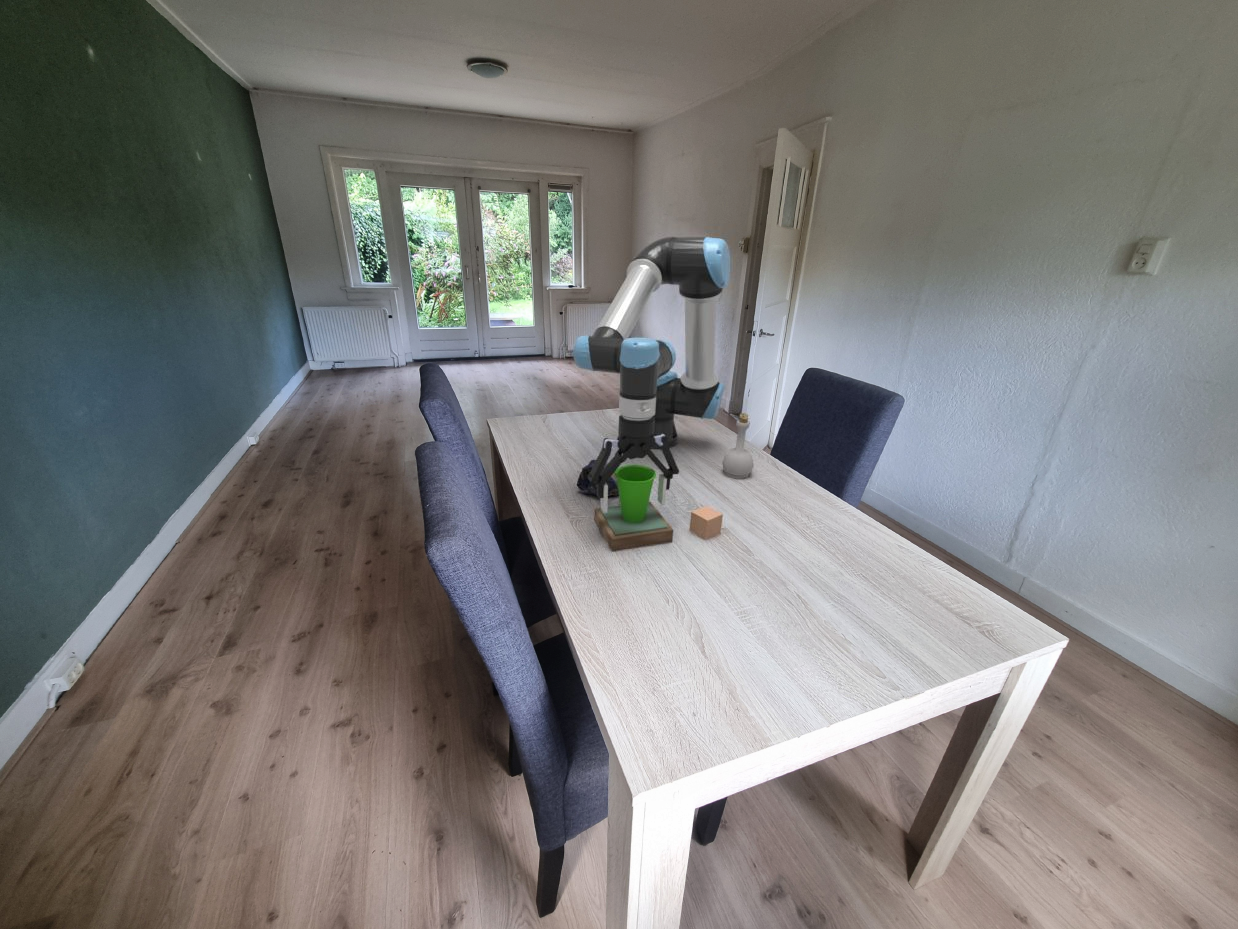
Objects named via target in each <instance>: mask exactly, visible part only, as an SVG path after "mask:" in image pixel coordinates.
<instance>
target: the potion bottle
mask: <svg viewBox="0 0 1238 929" xmlns="http://www.w3.org/2000/svg"><path fill="white" fill-rule="evenodd" d="M748 416H749V415H748V413H744V412H743V413H740V414H739V418H738V420H736V424H735V425H736V428H737V435H736V442H735V444H736V445H735V447H733V448H732V447H731V448H729V449H728V451H727V452H726V453H725V454H724V456H723V459H722V461H721V464H722V465H721V466H722V469H723V470H724V474H725V475H726V476H727V477H728V478H733V479H746V478H747V477H749V474H750V473H752V471H753V468H754V466H755V465H754V459H753V456H752V454H751V452H750V450H748V449H745V447H744V446H745V441H746V440H745V439H746V432H747V430H748V429H749V428H750V425H751V422H750V421H749V417H748Z"/></svg>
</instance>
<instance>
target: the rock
mask: <svg viewBox="0 0 1238 929" xmlns="http://www.w3.org/2000/svg"><path fill="white" fill-rule="evenodd" d="M596 460H597V458H596V459H592V460H590V461H589V463H588V464H587V465H585V466H584V467H582V468H581V472H580V473H579V475H578V479H577V481H576V482H577V483H576V486H577V489H578V490H579V491H581V492H582V493H584V494H587V495H591V496H592V495H597V484H592V483H591V482H590V480H589V479H588V476H589V474H590V472H591V470H592V468H593V466H594V464H595V462H596ZM608 463H609V462H608V461H607V462H606V464H605V466H604V468H605V467H606V465H607V464H608ZM604 468H603V469H604ZM606 484H607V485H608V496H617V495H618V496H619V491H618V484H617V477H616V476H615V472H614V473H613V474H612V476H611V477H610V478H609V479H608V480H607V482H606Z"/></svg>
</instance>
